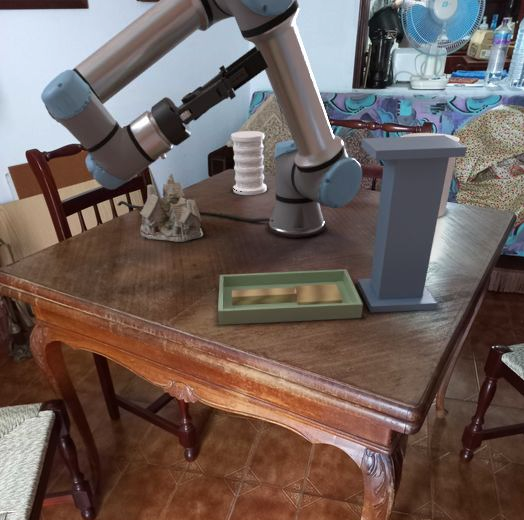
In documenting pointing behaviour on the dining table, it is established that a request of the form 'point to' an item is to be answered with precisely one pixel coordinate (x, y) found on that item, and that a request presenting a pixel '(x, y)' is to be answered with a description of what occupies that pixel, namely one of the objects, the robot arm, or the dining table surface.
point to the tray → (291, 310)
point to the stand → (406, 219)
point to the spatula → (289, 295)
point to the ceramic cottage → (170, 214)
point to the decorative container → (248, 162)
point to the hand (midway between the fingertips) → (261, 55)
